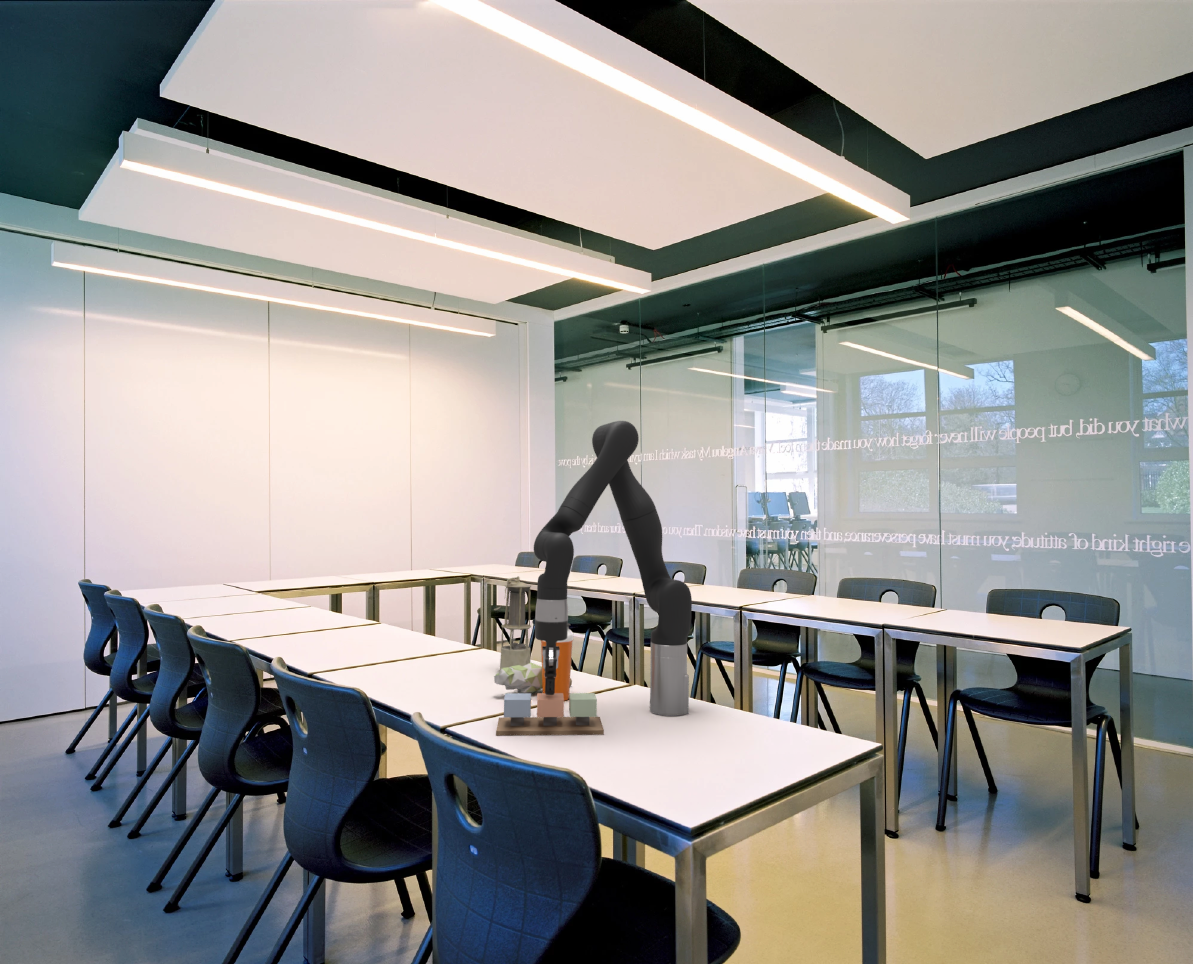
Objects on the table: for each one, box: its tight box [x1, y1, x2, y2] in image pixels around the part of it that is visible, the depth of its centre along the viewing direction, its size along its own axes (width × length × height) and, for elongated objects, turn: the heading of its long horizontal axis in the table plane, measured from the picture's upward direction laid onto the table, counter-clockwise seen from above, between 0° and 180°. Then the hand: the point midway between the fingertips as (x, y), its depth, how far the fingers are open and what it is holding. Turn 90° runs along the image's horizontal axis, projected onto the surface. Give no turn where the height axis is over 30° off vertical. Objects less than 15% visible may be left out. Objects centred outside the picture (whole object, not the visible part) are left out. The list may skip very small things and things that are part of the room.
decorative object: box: [493, 662, 573, 694], centre depth 202 cm, size 9×10×25 cm
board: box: [495, 716, 605, 737], centre depth 168 cm, size 24×11×3 cm, turn 95°
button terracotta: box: [536, 692, 565, 717], centre depth 169 cm, size 6×6×4 cm
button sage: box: [568, 692, 598, 717], centre depth 169 cm, size 6×6×4 cm
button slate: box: [503, 692, 532, 717], centre depth 168 cm, size 6×6×4 cm
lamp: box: [493, 576, 532, 673], centre depth 226 cm, size 10×13×30 cm
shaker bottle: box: [539, 623, 574, 702], centre depth 196 cm, size 9×9×20 cm
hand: (549, 693), depth 169 cm, fingers closed
